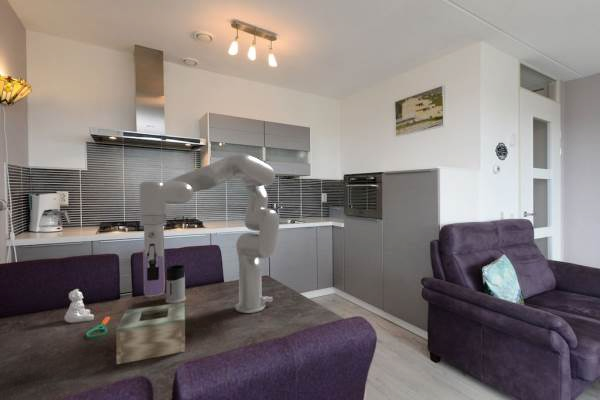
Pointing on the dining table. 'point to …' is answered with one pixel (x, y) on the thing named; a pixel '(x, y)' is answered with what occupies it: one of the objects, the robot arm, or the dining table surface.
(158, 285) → the beverage can
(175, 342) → the tissue box
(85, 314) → the white creature statuette
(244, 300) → the robot arm
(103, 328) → the magnifying glass
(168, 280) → the white pitcher
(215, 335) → the dining table surface
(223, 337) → the dining table surface
